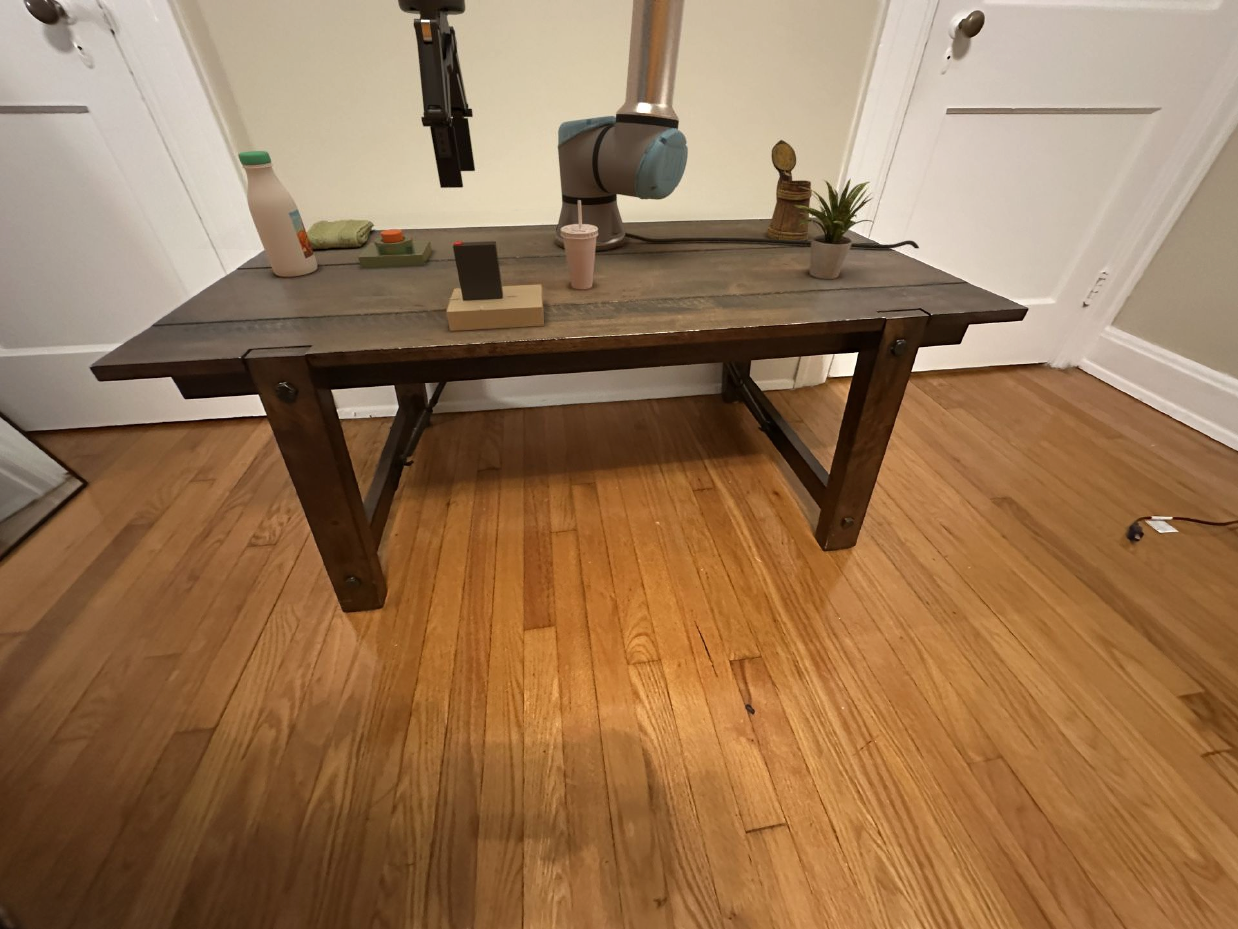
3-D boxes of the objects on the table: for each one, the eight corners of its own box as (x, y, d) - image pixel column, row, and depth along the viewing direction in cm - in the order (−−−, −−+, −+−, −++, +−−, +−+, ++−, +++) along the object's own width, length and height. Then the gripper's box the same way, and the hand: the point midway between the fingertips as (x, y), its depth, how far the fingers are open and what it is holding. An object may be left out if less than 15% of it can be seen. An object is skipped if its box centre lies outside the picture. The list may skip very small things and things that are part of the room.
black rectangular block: (503, 294, 83) (495, 239, 78) (502, 298, 82) (494, 242, 77) (464, 296, 83) (453, 240, 78) (463, 300, 81) (452, 244, 76)
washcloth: (376, 228, 128) (372, 214, 126) (364, 249, 114) (359, 233, 112) (318, 231, 126) (313, 217, 124) (299, 253, 112) (293, 237, 110)
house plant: (810, 256, 108) (829, 165, 98) (877, 271, 100) (904, 174, 90) (772, 272, 100) (788, 175, 90) (840, 290, 92) (866, 186, 82)
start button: (405, 237, 108) (403, 228, 107) (402, 243, 105) (399, 234, 103) (385, 238, 107) (383, 229, 106) (381, 244, 104) (378, 234, 103)
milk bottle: (301, 279, 99) (255, 155, 87) (265, 276, 100) (215, 154, 88) (327, 266, 105) (288, 149, 93) (292, 264, 106) (249, 148, 94)
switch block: (432, 251, 113) (428, 231, 110) (424, 265, 105) (419, 244, 102) (373, 253, 111) (368, 233, 109) (361, 268, 104) (355, 247, 101)
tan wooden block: (543, 301, 89) (541, 283, 87) (544, 326, 81) (542, 305, 79) (457, 306, 88) (453, 287, 86) (449, 331, 80) (445, 310, 78)
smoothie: (572, 294, 92) (567, 206, 83) (558, 283, 96) (552, 198, 88) (605, 288, 94) (604, 201, 85) (590, 277, 98) (587, 194, 90)
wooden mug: (783, 225, 128) (798, 138, 117) (816, 240, 118) (835, 146, 107) (750, 228, 126) (762, 140, 115) (780, 243, 116) (796, 148, 105)
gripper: (414, -19, 70) (445, 165, 82) (361, -54, 50) (412, 196, 62) (472, -18, 70) (494, 165, 83) (442, -52, 50) (477, 195, 63)
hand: (459, 178), depth 73 cm, fingers open, 13 cm apart
